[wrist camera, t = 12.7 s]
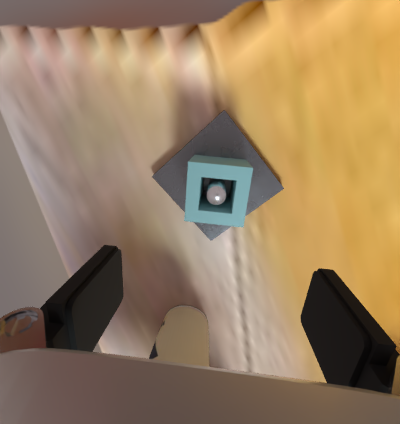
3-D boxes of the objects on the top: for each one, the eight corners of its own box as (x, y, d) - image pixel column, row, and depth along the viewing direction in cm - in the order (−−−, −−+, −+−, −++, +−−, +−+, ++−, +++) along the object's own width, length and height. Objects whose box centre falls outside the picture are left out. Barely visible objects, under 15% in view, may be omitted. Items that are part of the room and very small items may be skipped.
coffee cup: (156, 301, 38) (129, 374, 26) (211, 301, 37) (207, 377, 26) (163, 341, 41) (142, 422, 30) (214, 342, 40) (212, 426, 29)
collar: (238, 208, 30) (243, 227, 24) (190, 203, 30) (184, 220, 24) (246, 159, 27) (253, 167, 22) (194, 154, 28) (188, 161, 22)
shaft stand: (211, 237, 33) (209, 265, 26) (154, 174, 30) (135, 188, 23) (281, 186, 29) (299, 203, 23) (224, 110, 26) (225, 104, 20)
